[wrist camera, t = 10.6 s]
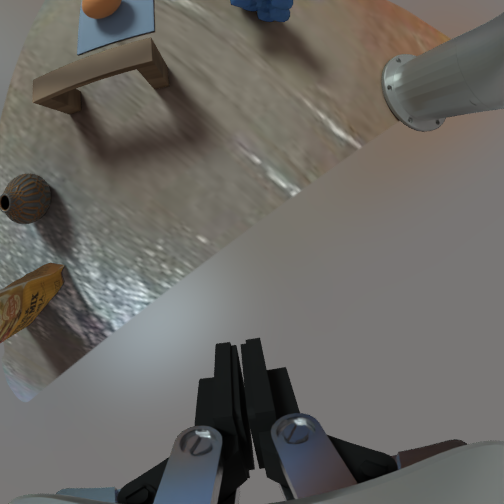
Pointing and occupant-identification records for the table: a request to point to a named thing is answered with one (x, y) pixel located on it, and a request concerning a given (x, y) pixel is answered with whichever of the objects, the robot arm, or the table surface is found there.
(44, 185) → the vase
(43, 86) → the bridge
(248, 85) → the table surface
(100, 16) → the ball
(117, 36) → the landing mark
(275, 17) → the blue lumpy cluster
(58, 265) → the pancake mix bag
